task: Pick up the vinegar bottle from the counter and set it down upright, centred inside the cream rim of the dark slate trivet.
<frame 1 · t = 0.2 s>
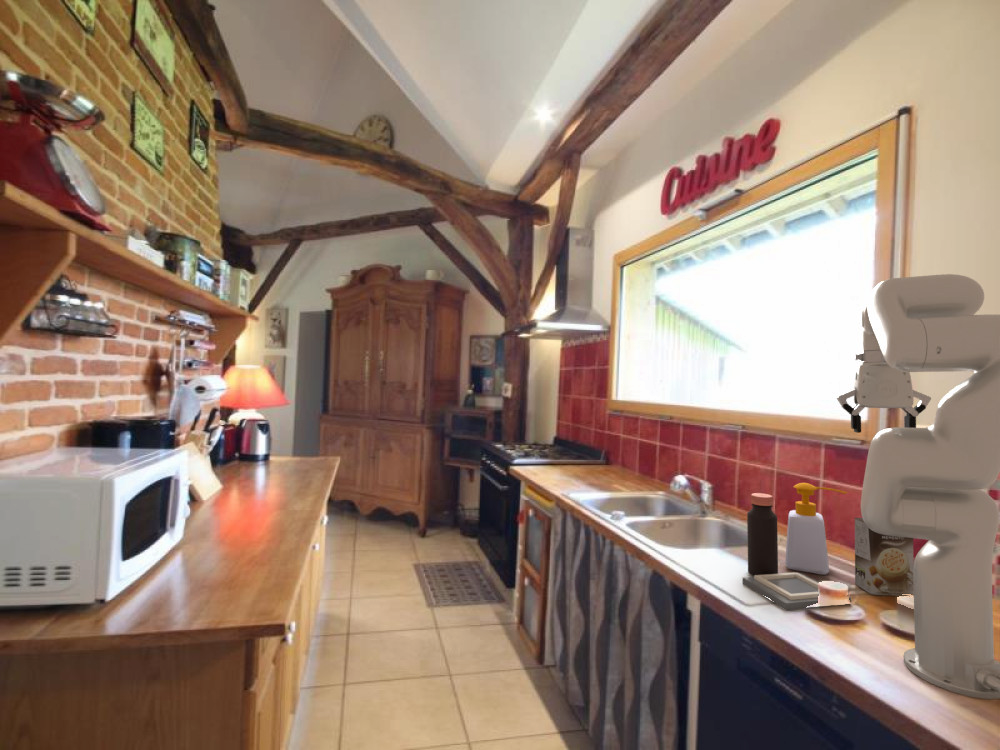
hand: (882, 433, 110), 37 cm above the counter, tool pointing down, fingers open, 9 cm apart
vinegar: (762, 574, 122), on the counter
trivet: (794, 593, 110), on the counter
cookie box: (883, 591, 112), on the counter
soap bottle: (816, 569, 125), on the counter
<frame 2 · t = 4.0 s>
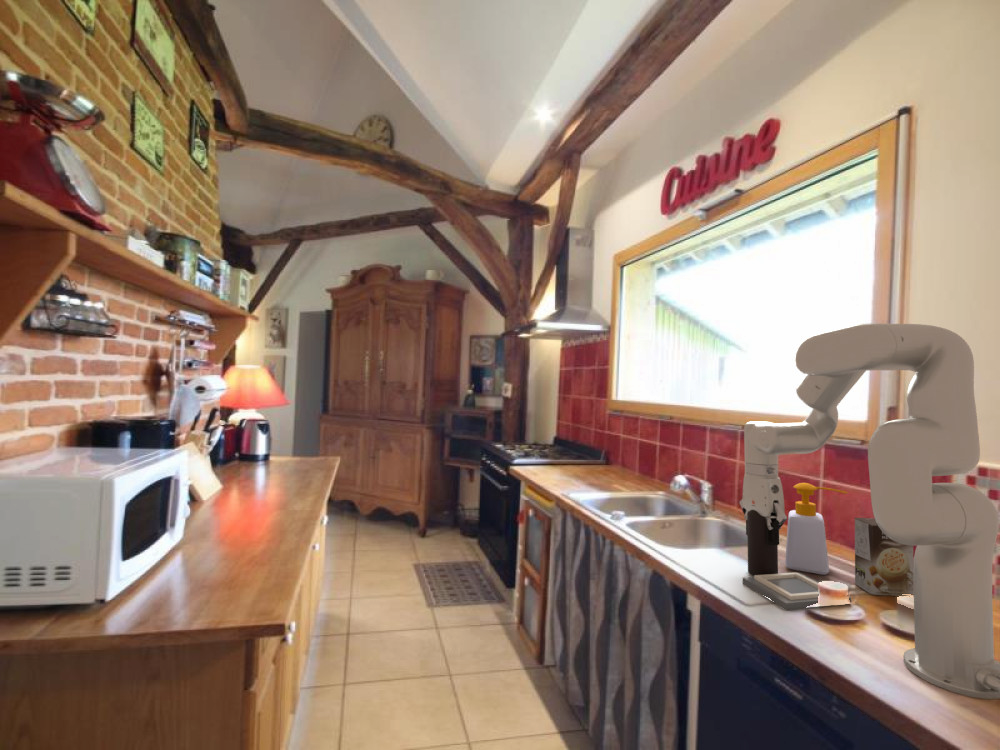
hand: (762, 539, 122), 9 cm above the counter, tool pointing down, fingers closed on vinegar, 6 cm apart
vinegar: (762, 574, 122), on the counter, touching gripper
everything else where it was.
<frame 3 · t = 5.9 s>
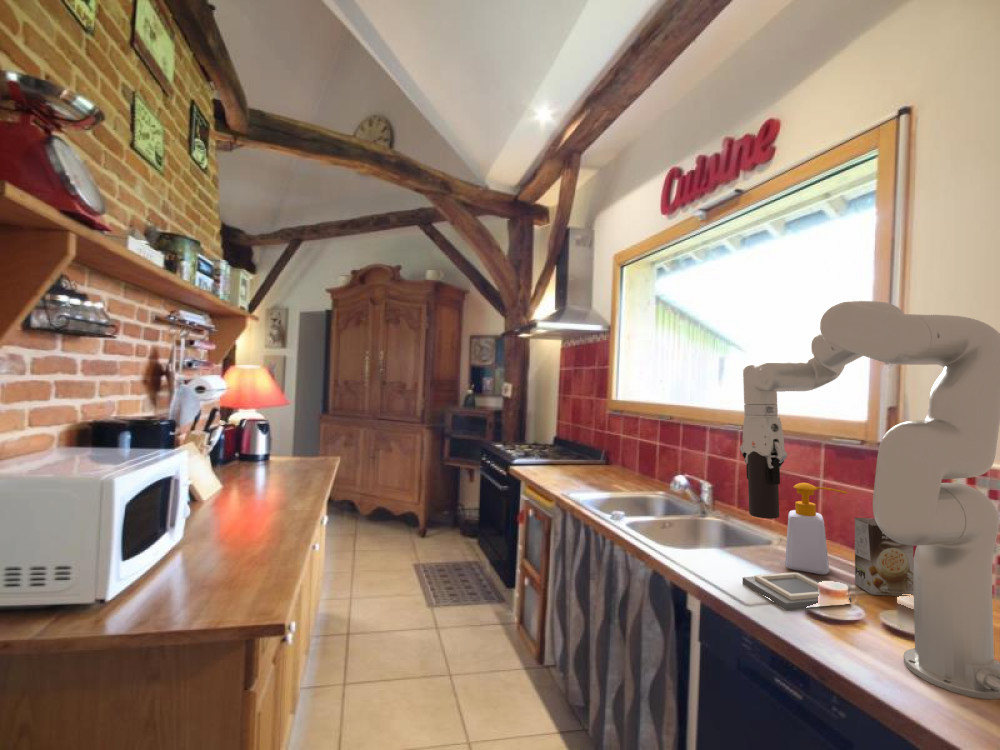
hand: (762, 481, 122), 24 cm above the counter, tool pointing down, fingers closed on vinegar, 6 cm apart
vinegar: (764, 516, 121), point 15 cm above the counter, touching gripper
everything else where it was.
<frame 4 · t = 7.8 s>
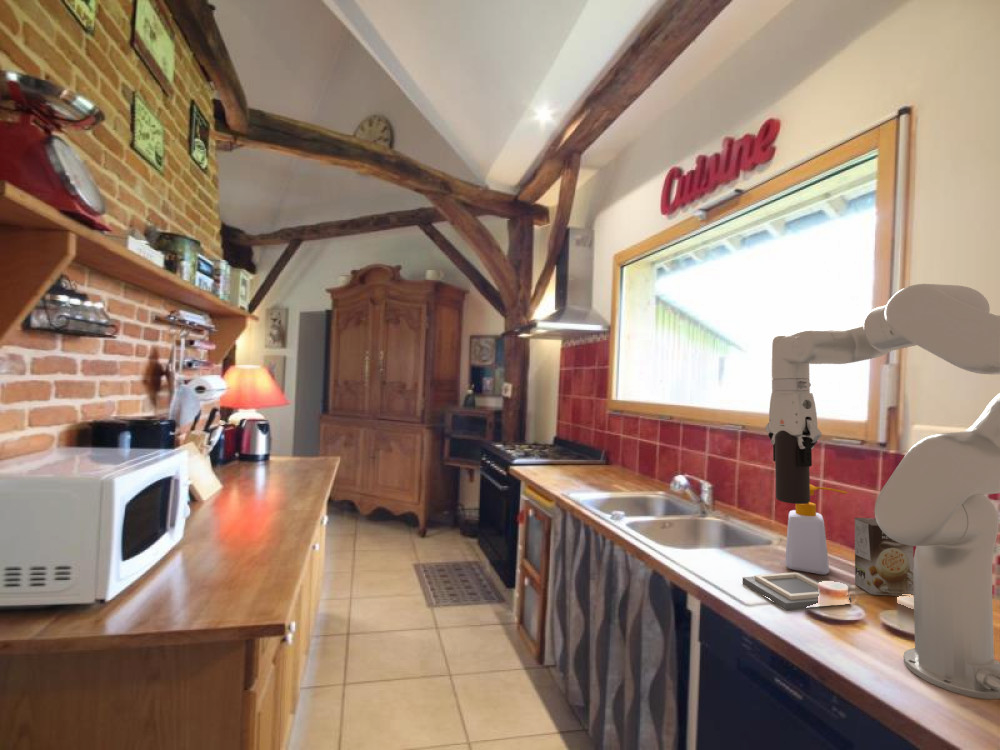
hand: (791, 463, 111), 30 cm above the counter, tool pointing down, fingers closed on vinegar, 6 cm apart
vinegar: (792, 501, 111), point 21 cm above the counter, touching gripper
everything else where it was.
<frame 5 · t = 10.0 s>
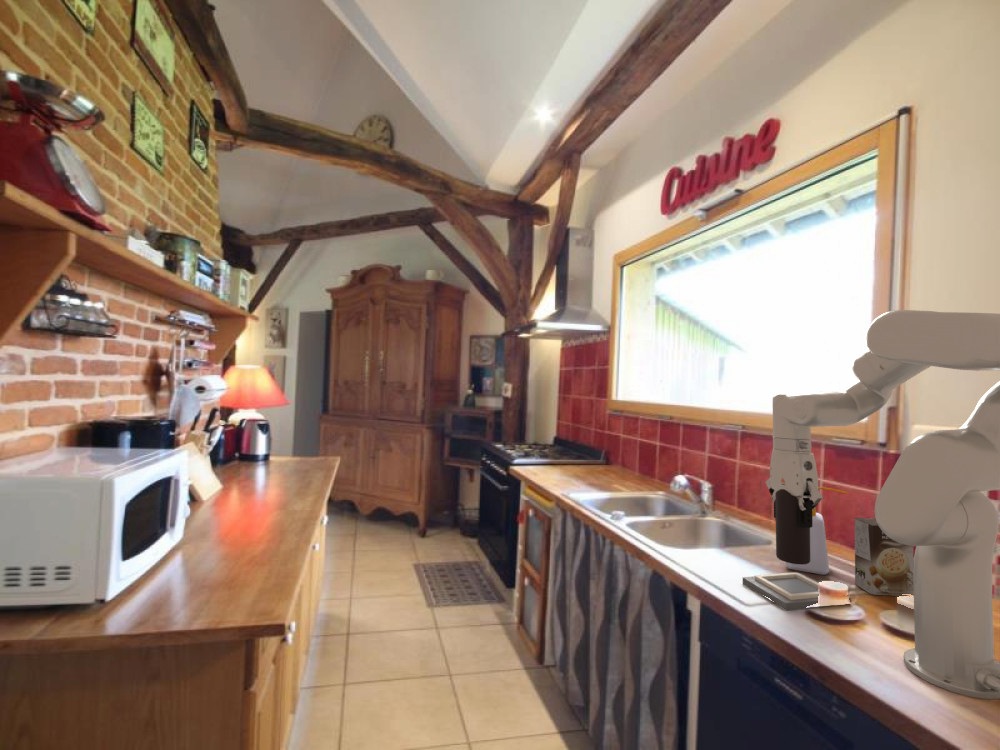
hand: (792, 521, 111), 16 cm above the counter, tool pointing down, fingers closed on vinegar, 6 cm apart
vinegar: (793, 560, 111), point 8 cm above the counter, touching gripper
everything else where it was.
when the fingers open (12 cm above the counter, at t = 11.9 s): vinegar drops 2 cm, resting on trivet.
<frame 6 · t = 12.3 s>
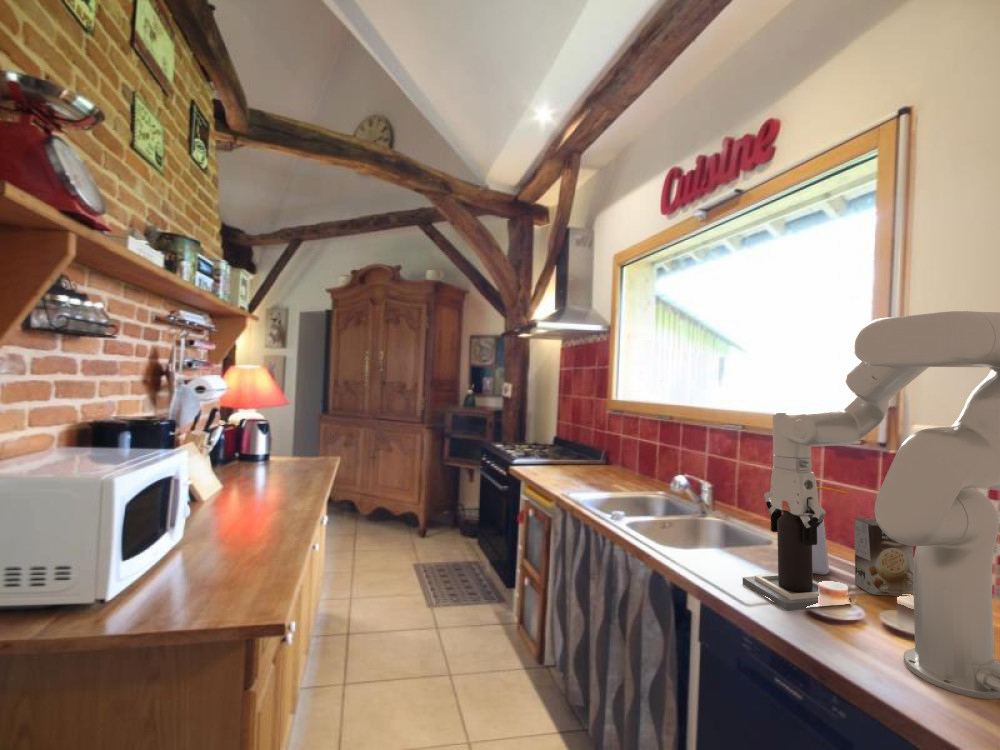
hand: (793, 537, 111), 13 cm above the counter, tool pointing down, fingers open, 9 cm apart
vinegar: (795, 588, 110), point 1 cm above the counter, touching trivet
everything else where it was.
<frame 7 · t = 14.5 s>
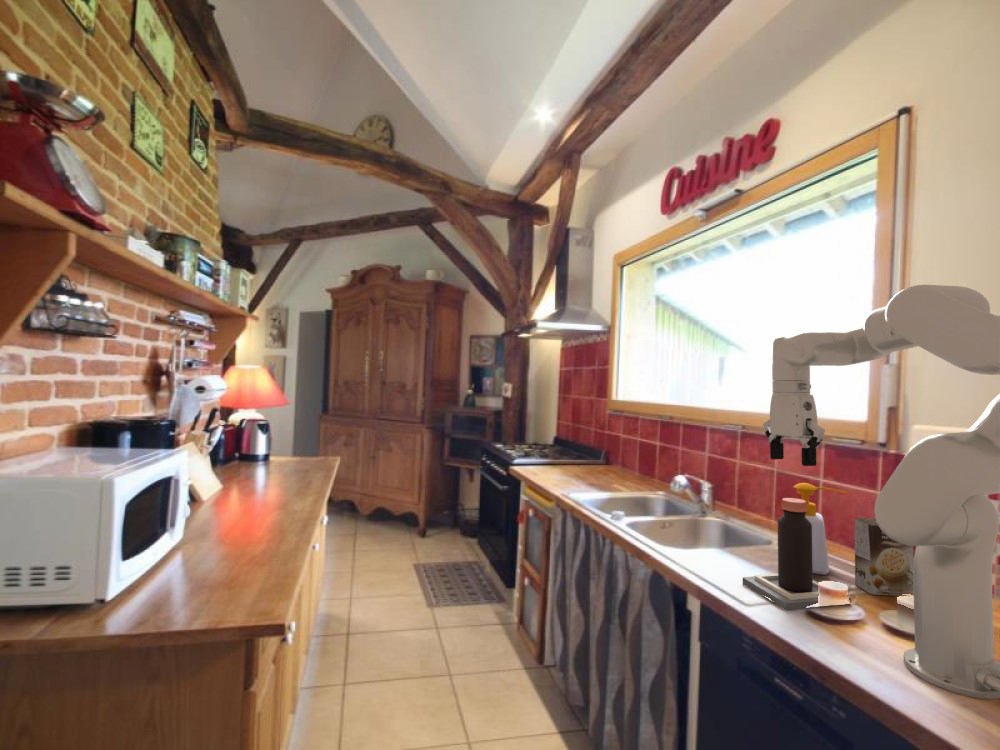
hand: (792, 462, 111), 30 cm above the counter, tool pointing down, fingers open, 9 cm apart
nothing on the counter moved.
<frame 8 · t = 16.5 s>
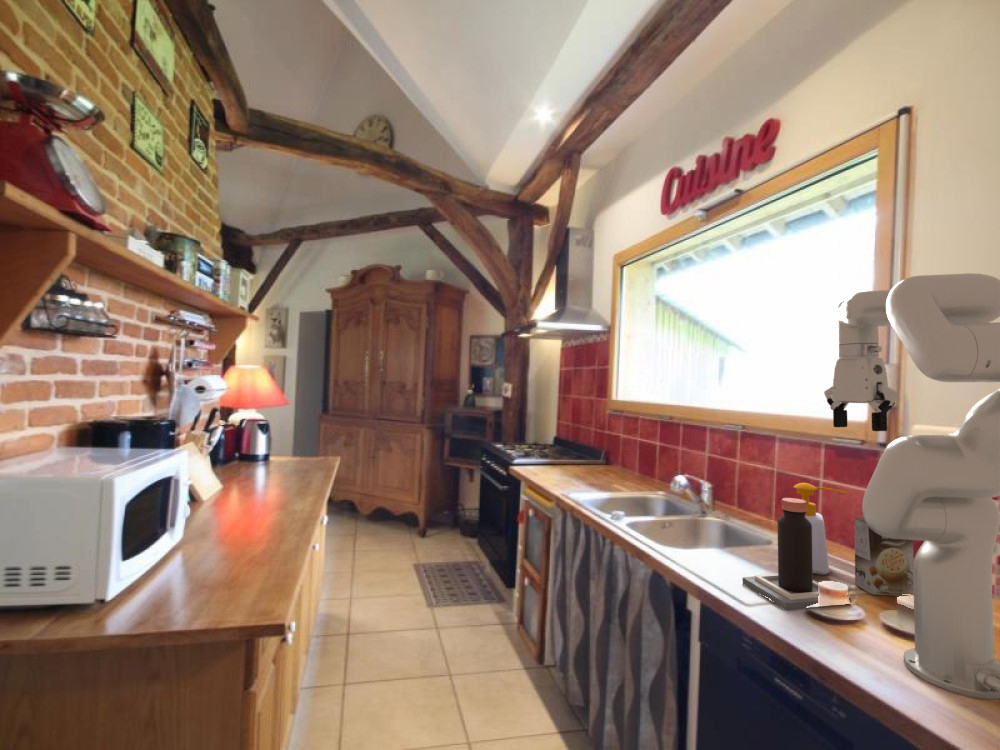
hand: (859, 428, 107), 38 cm above the counter, tool pointing down, fingers open, 9 cm apart
nothing on the counter moved.
at the end: vinegar 0.3 cm off-centre on the trivet, point 1.3 cm above the trivet's base; vinegar tilted 0°; the gripper is holding nothing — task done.
